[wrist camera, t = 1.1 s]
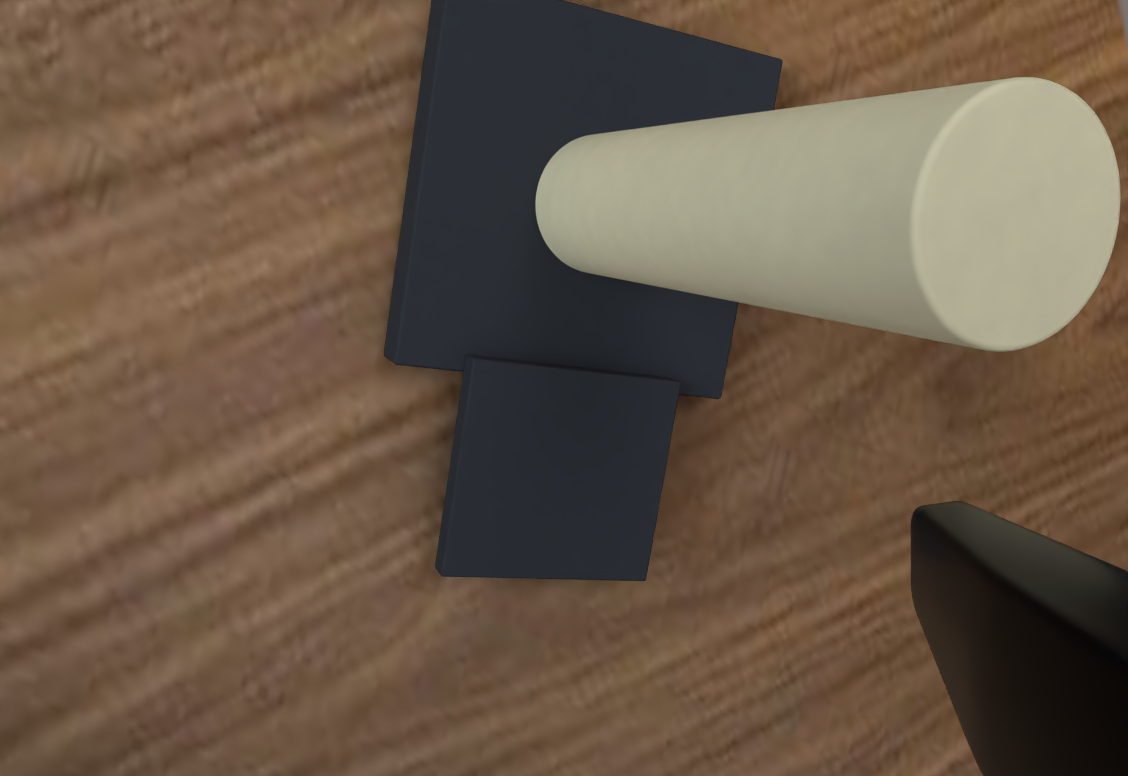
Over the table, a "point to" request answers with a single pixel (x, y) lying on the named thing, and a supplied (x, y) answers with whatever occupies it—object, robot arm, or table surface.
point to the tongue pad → (535, 319)
